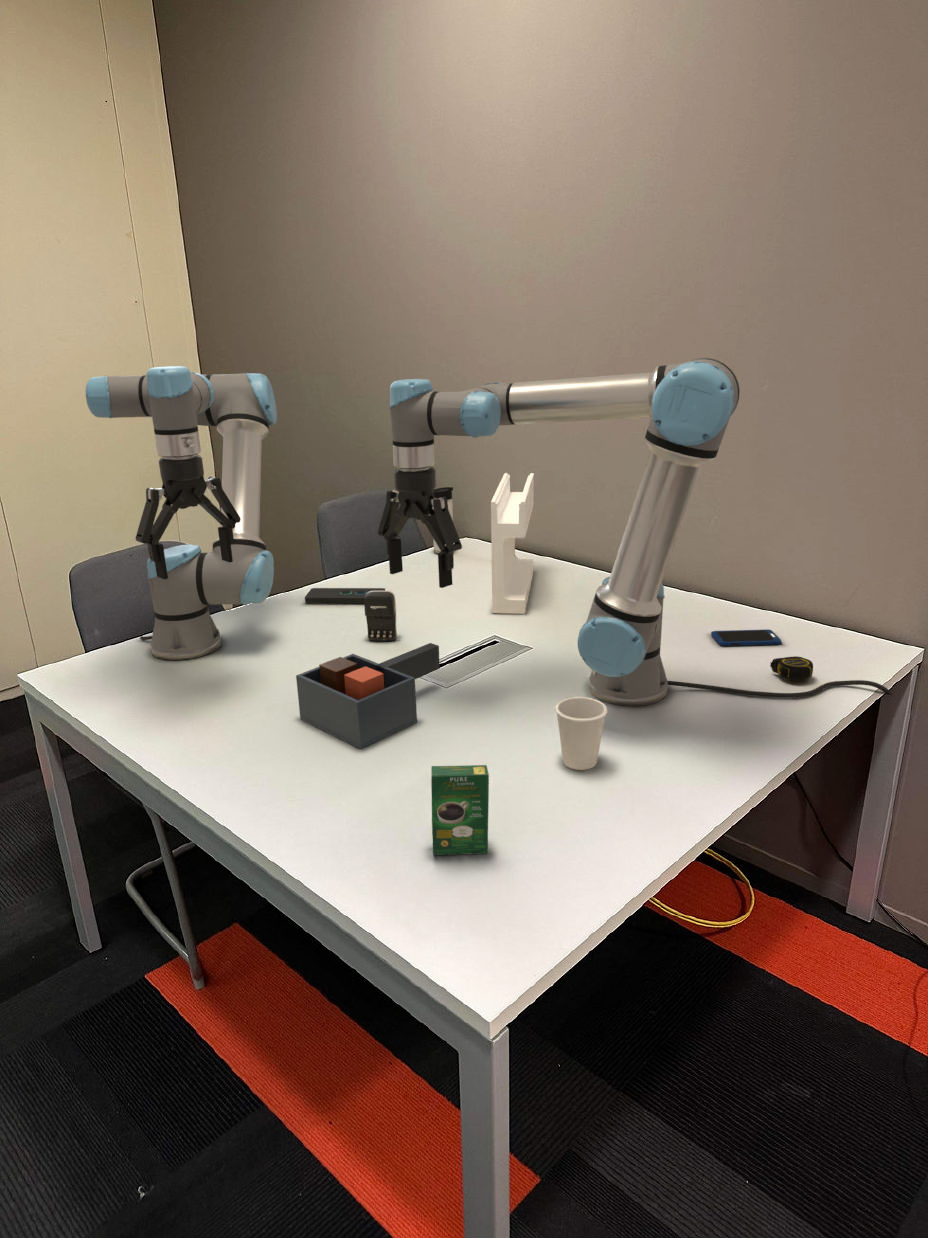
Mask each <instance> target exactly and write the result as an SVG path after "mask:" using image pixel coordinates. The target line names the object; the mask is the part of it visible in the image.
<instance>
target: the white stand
mask: <svg viewBox="0 0 928 1238" xmlns="http://www.w3.org/2000/svg"><path fill="white" fill-rule="evenodd" d="M510 478H511V475H510V474H509V472H504V473H503V476H502V477H501V480H500V482H499V483H498V486H497V488H496V490H495V492H494V494H493V495H492V496H493V497H492V499H491V501H490V537H491V539H490V540H491V544H490V545H491V605H492V608H491V609H492V611H491V613H492V614H516V615H517V614H518V615H526V610H527V605H528V601H529V595H530V591H531V585H532V581H533V577H534V576H533V575H534V572H535V571H534V563H535V562H534V561H535V560H534V559H533V558H532V559H531V558H518V557H517V555H516V539H526V536H527V532H528V529H529V525H530V521H531V517H532V513H533V509H534V506H535V500H534V499H535V490H534V489H535V473H533V472H530V473H529V474H528V475H527V478H526V481H525V484H524V487H523V490H522V491H511V480H510Z"/></svg>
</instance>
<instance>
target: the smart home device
mask: <svg viewBox="0 0 928 1238" xmlns="http://www.w3.org/2000/svg"><path fill="white" fill-rule="evenodd" d="M379 590H382V591H386V588H385V587H312V588H310V590H309V591H308V592H307V593H306V595H305V596H304V603H305V604H320V605H321V604H322V605H323V604H325V605H326V604H327V605H328V604H329V605H331V604H334V605H335V604H341V605H345V604H347V605H349V604H351V605H352V604H353V605H354V604H355V605H360V604H361V605H362V604H363V605H364V600H365V596H366V594H367V593H368V592H369V591H379Z"/></svg>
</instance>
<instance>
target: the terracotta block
mask: <svg viewBox="0 0 928 1238" xmlns="http://www.w3.org/2000/svg"><path fill="white" fill-rule="evenodd" d="M344 679H345V692H346V695H347V696H349V697H352V698H354V699H356V700H360V699H362V698H364V697H367V696H369V695H371V694H374V693H376V692H378V691H381V690H383V689H384V675H383V673H381V672H378V671H376V670H373V669H371V668H368V667H366V666H365V667H362V668H360V669H357V670H355V671H352V672H350V673H347V674H345V675H344Z"/></svg>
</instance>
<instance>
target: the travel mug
mask: <svg viewBox="0 0 928 1238" xmlns="http://www.w3.org/2000/svg"><path fill="white" fill-rule="evenodd" d="M453 491H454V487H453V486H444V487H439V488H434V490H433V495H434V498H442V497H446V498H447V503H448V510H449V513H450V515H451V518H452V520H453V521H454V505H453V504H454V503H453ZM432 539H433V540H432V541H433V542H432V543H433V552H434V553H435V554H437V555H438V553H440V552H441V550H440V549H439V547H438V545H437V543H436V542H435V540H434V538H433V537H432ZM453 544H454V543H453ZM445 546H447V545H445Z"/></svg>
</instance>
